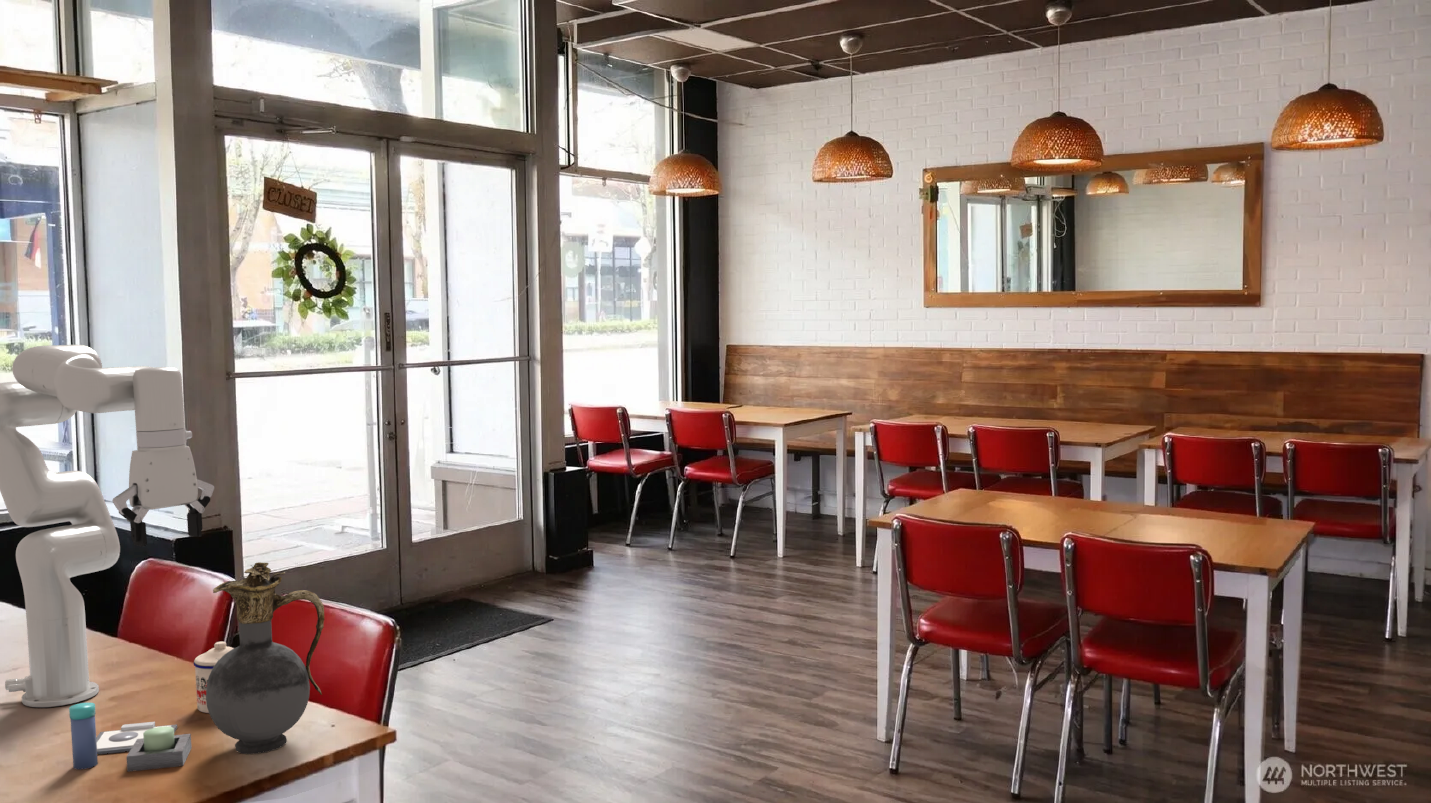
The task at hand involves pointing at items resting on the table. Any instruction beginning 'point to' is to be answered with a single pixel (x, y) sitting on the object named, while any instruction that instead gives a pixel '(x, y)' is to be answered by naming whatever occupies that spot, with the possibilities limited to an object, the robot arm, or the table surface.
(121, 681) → the table surface
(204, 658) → the teacup with lid
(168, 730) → the button
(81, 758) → the cylinder
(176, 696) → the table surface
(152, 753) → the button base
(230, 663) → the pitcher
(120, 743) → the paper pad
